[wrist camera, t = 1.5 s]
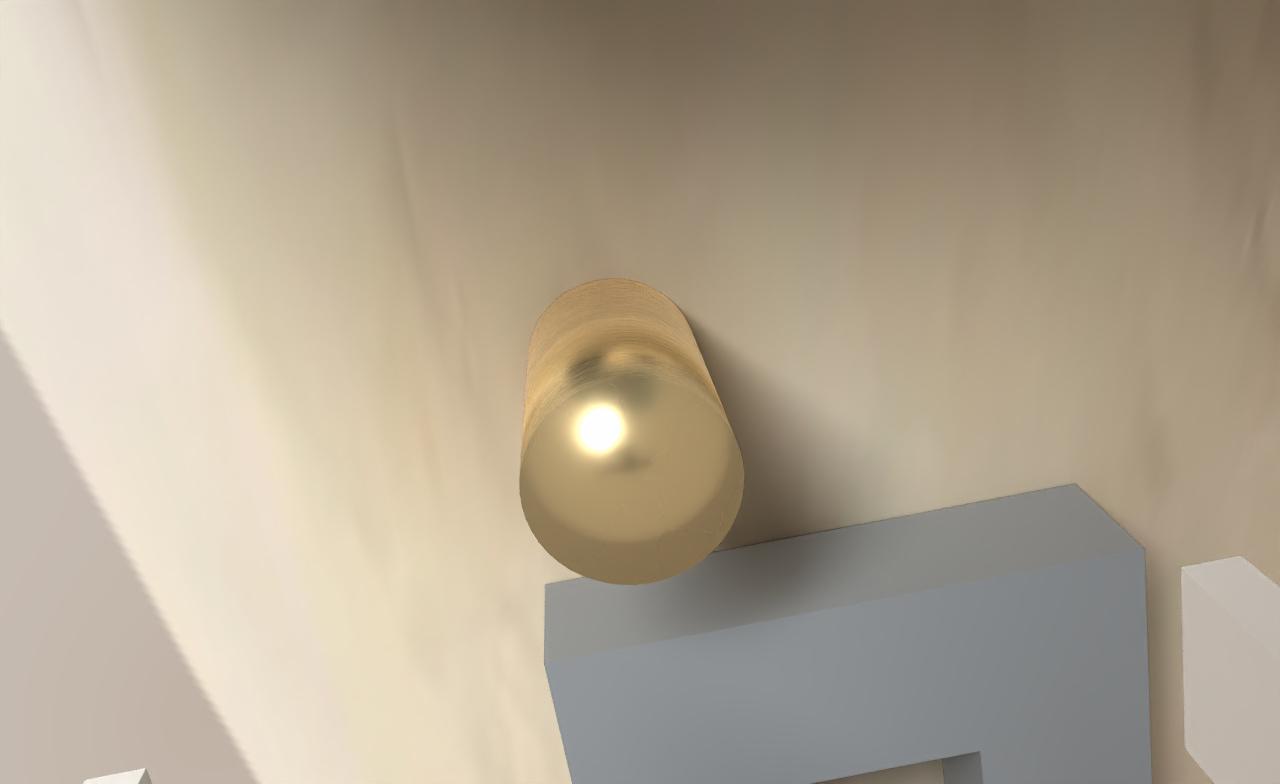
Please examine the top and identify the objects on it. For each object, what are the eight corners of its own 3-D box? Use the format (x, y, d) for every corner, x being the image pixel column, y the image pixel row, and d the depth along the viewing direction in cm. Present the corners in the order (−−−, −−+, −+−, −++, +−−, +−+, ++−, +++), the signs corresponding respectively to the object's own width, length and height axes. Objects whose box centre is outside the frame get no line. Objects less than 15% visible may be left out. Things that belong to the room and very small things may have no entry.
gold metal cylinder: (511, 296, 29) (497, 401, 22) (682, 264, 29) (726, 358, 22) (546, 453, 31) (544, 603, 23) (708, 423, 31) (759, 562, 23)
